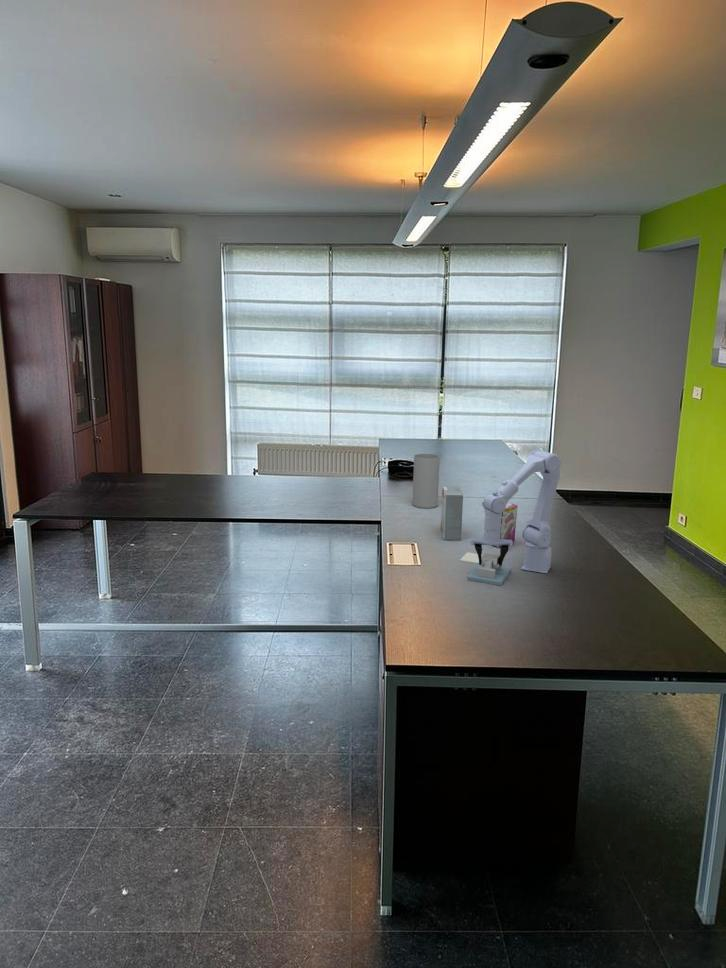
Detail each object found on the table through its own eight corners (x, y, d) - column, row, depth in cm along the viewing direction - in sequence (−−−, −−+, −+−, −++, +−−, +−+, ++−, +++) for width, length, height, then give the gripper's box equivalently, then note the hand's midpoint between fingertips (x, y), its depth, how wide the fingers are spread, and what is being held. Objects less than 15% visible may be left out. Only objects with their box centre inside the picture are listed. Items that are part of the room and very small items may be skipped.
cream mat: (492, 557, 263) (492, 556, 263) (485, 565, 254) (485, 564, 254) (467, 553, 267) (467, 552, 267) (459, 560, 258) (459, 559, 258)
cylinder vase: (431, 501, 344) (433, 453, 339) (441, 507, 333) (443, 458, 327) (408, 503, 340) (410, 454, 335) (418, 509, 329) (420, 459, 323)
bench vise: (511, 571, 248) (512, 555, 247) (500, 585, 234) (502, 568, 233) (479, 565, 253) (479, 550, 252) (467, 580, 239) (468, 563, 237)
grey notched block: (499, 565, 243) (499, 555, 243) (496, 568, 240) (497, 558, 239) (483, 562, 246) (484, 553, 245) (481, 566, 242) (481, 556, 241)
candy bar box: (500, 548, 273) (502, 509, 270) (489, 545, 277) (492, 506, 273) (515, 542, 281) (518, 504, 277) (505, 539, 284) (507, 502, 281)
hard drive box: (440, 529, 298) (442, 485, 293) (457, 529, 297) (459, 485, 293) (443, 540, 282) (445, 494, 278) (461, 540, 282) (463, 494, 278)
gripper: (511, 525, 243) (509, 561, 246) (471, 524, 244) (469, 559, 247) (514, 531, 236) (511, 568, 239) (472, 529, 237) (470, 566, 240)
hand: (490, 564), depth 243 cm, fingers closed on grey notched block, 7 cm apart
